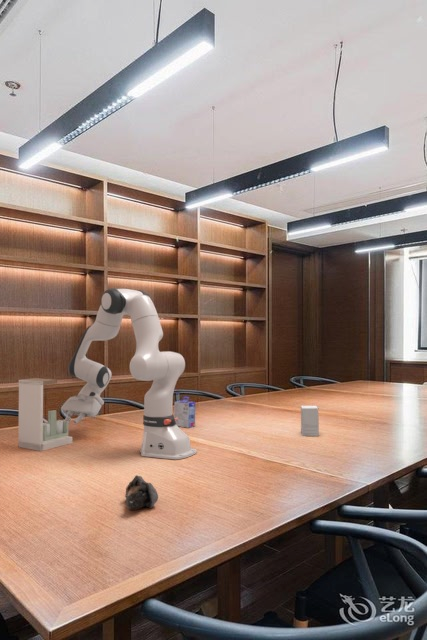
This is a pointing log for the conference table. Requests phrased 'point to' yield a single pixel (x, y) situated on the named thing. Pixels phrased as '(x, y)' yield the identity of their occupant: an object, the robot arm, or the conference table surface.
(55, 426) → the glass caddy
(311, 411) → the supplement box
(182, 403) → the ink cartridge box
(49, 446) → the white c-shaped upright piece
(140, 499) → the bison figurine
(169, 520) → the conference table surface
